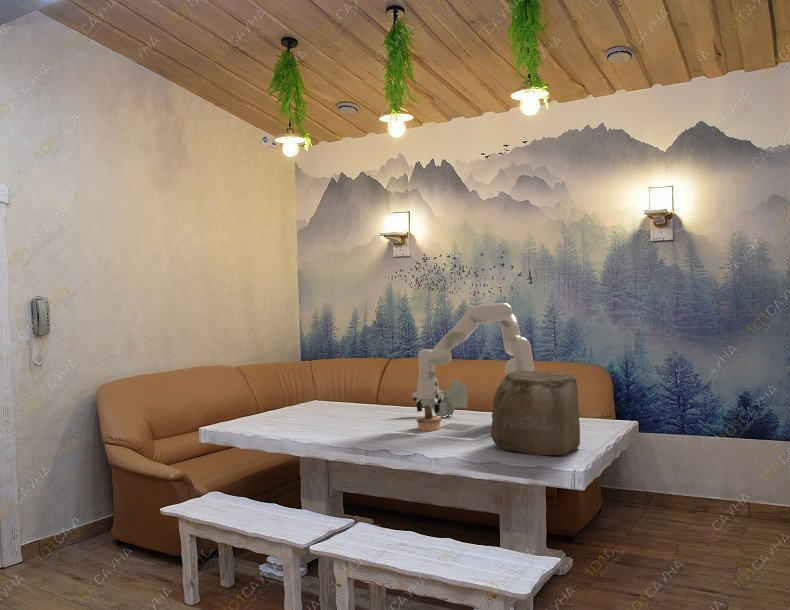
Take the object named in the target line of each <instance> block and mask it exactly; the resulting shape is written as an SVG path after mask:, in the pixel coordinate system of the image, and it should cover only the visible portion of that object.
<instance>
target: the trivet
mask: <svg viewBox="0 0 790 610" xmlns="http://www.w3.org/2000/svg"><path fill="white" fill-rule="evenodd" d="M476 426H477V425H474V424H466V423H465V424H463V423H452V422H450V423H448V424H444V425H440V429H442V430H452V431H465V430H468V429H470V428H473V427H476ZM440 429H439V430H440Z"/></svg>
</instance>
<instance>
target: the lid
mask: <svg viewBox="0 0 790 610" xmlns="http://www.w3.org/2000/svg"><path fill="white" fill-rule="evenodd" d="M416 422H417V423H418V422H419V423H436V422H440V423H441V422H442V417H436V415H435V416H433V408H432V405H425V407H424V416H420V417H417V418H416Z"/></svg>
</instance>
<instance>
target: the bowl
mask: <svg viewBox="0 0 790 610" xmlns="http://www.w3.org/2000/svg"><path fill="white" fill-rule="evenodd" d="M440 427H441V421H440V422H436V423H419V422H417V430H418V429H419V430H418V431H421V430H422V431H421V432H433V431H434V432H435V431H439V430H440Z"/></svg>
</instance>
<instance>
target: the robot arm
mask: <svg viewBox="0 0 790 610" xmlns="http://www.w3.org/2000/svg"><path fill="white" fill-rule="evenodd" d="M489 323H491V324H492V323H498V325H499V327H500V329H501V334H502V341H503V347H504V351H505V353H506V354H507V355H508V356H512V357H513V358H510V359H509V360H507V362H506V363H505V366H504V372H505V376H506V375H507V374H509V373H510V372H515V371H535V365H534V356H533V351H532V346H531V345H532V344H531V343H530V342H529V340H528V339H527V338H526V337H522V336H521V331H520V326H519V323H518V320H517V318H516V317H515V315H514V314H513V308H512V306H511V305H510V304H508V303H506V302H497V303H496V302H494V303H492V304H486V305H472V306H470V307H469V308H468V309H467V310H466V311H465V313H464V314H463V315H462V316H461V318H459V320H458V321H457V323H456V324H455V325H454V326H453V327H452V328H451V329H450V330H449V331H448V332H447V333H446V334H444V336H443V337H442V338H441V339H440V340H439V341H438V342H437V343H436V345H435V346H434V347H433V348H432V349H429V348H424V349H419V351H418V353H417V354H418V355H417V356H418V379H417V385H416V391H414V392H412V393H411V395H412V398H413V400H414V401H415V404H416V410H417V412H419V413H420V412H422V411H423V407H422V403H421V401H422V400H433V401H434V402H435V412H434V414H435V413H439V411H440V403H441V402H442V401H443V398H444V397H445V395H443V394H442V393H440V392H439V390H440V388H439V381H438V378H437V377H438V373H436V369H435V368H436V365H446V364H447V365H448V364H449V363H450V362H451V361H452V359H453V353H452V352H451V351H452V350H453V349H455V347H457V346H458V345H459V344H461V343H463V342H465V341H467V340H468V339H469V337H470V336H471V335H472V334H473V332H474V331H475V330H476V329H477V328H478V326H479V325H481V324H489ZM439 396H440V399H439Z"/></svg>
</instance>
